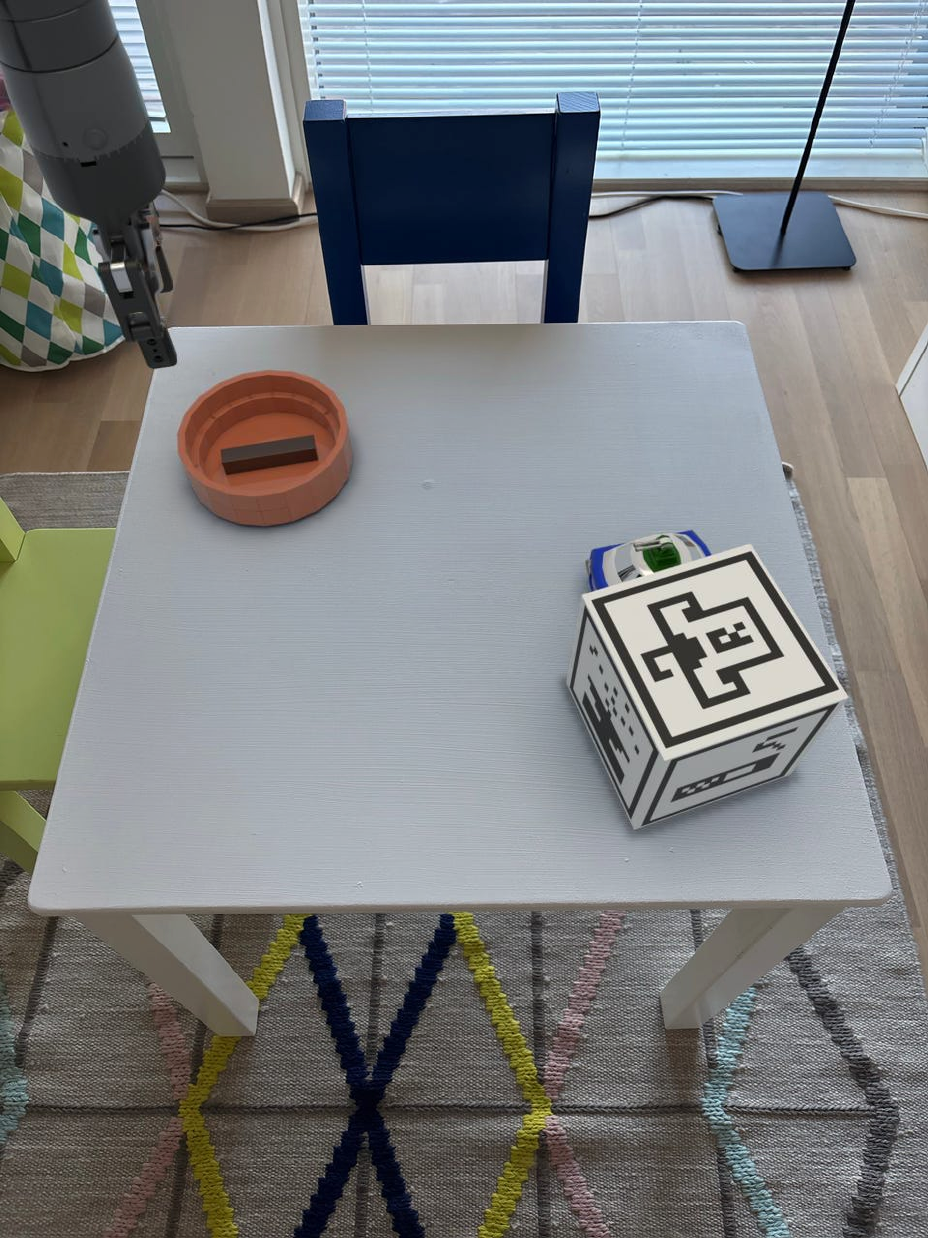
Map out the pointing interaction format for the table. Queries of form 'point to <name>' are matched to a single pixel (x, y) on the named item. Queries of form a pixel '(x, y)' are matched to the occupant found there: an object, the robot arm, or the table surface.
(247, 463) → the stick
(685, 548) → the toy car
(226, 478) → the bowl
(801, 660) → the block
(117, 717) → the table surface
